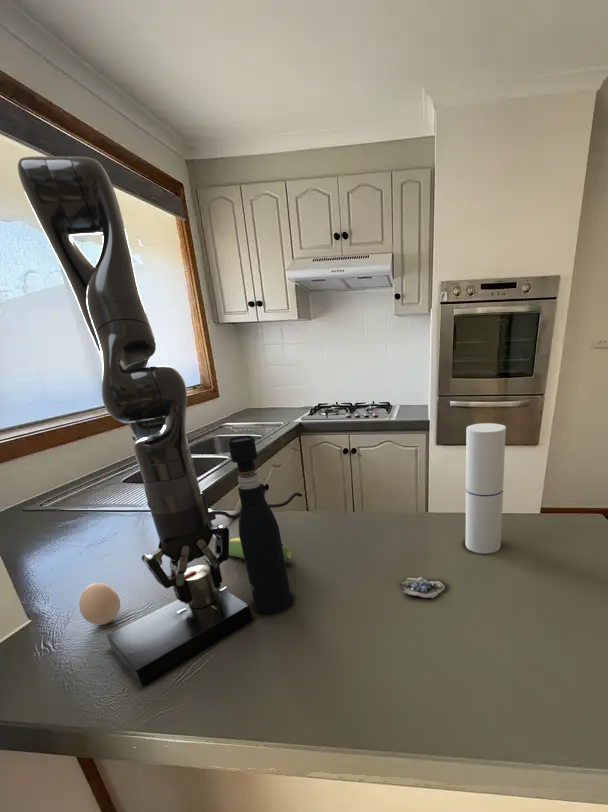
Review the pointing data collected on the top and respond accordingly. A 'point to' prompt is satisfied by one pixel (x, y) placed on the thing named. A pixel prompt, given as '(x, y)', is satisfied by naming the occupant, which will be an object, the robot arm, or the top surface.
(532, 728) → the top surface
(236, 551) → the edible corn
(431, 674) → the top surface
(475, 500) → the cylindrical container
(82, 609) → the egg
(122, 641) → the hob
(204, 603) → the stove knob
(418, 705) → the top surface
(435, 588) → the blueberries
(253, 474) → the dark water bottle
